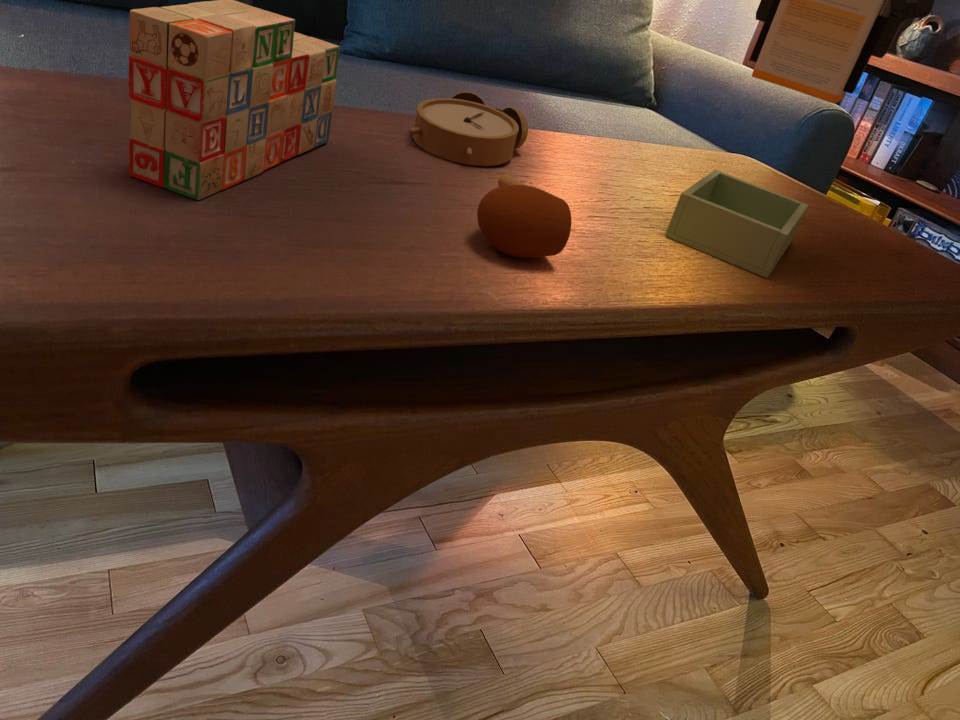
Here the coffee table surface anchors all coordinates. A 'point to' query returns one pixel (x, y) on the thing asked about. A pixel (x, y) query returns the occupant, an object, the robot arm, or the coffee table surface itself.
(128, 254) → the coffee table surface
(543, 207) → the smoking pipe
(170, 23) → the stack of blocks
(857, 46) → the supplement box
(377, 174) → the coffee table surface
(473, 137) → the alarm clock
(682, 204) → the box
